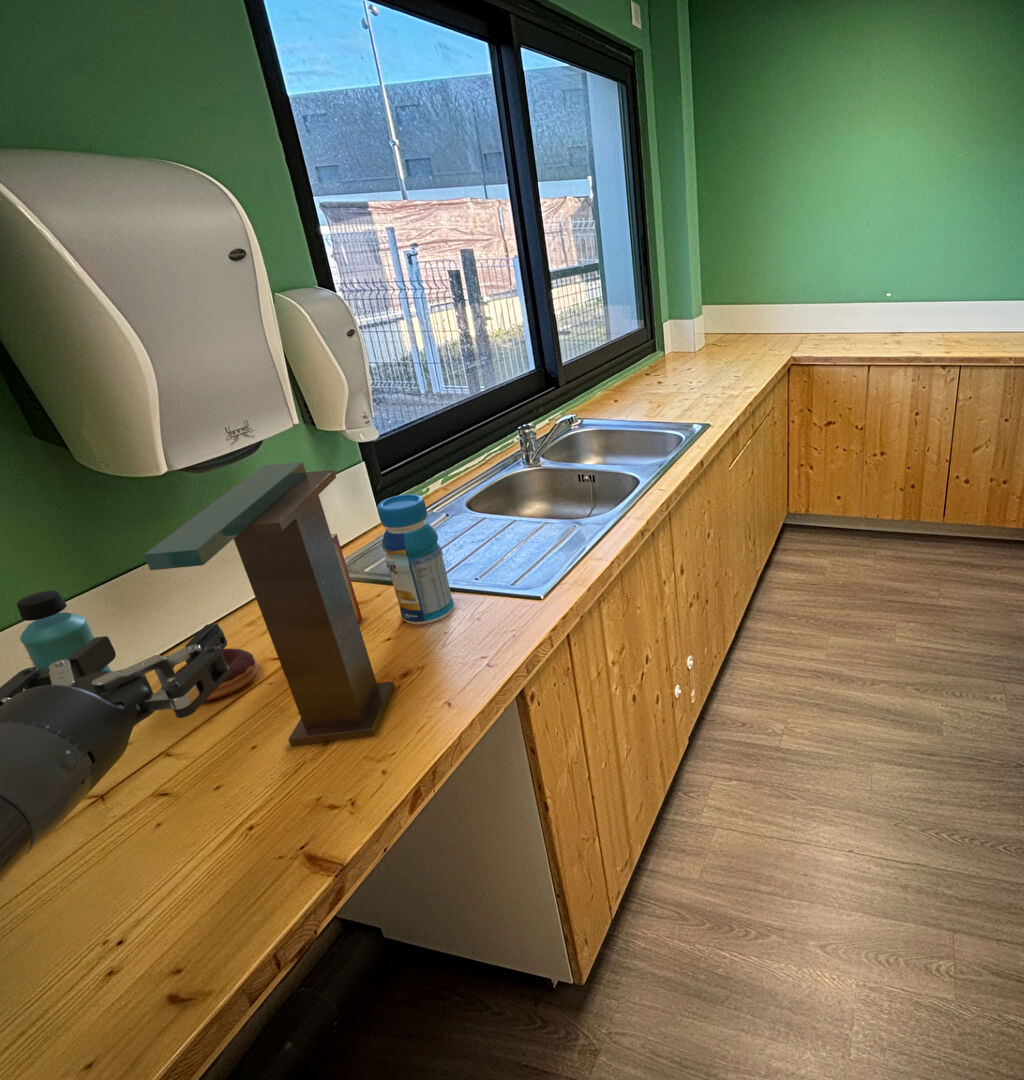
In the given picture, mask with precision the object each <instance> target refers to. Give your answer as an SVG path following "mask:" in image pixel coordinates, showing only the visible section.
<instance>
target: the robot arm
mask: <svg viewBox="0 0 1024 1080" xmlns="http://www.w3.org/2000/svg"><path fill="white" fill-rule="evenodd" d="M227 646H228V641H227V638H226V636H225V633H224V630H223V629H222V628H221V627H220V625H219V624H218V623H209V624H205V625H204V626H203V627H202V628H201V629H200V630H199V631H198V632H197V633H196V635H194V636H193V637H192V638H191V639H190V640H189V641H188V642H187V643H186V644H185V646H184V647H183V648H181V649H179V650H176V651H174V652H173V653H170V654H168V655H166V656H162V655H160V654H155V655H152V656H150V657H147V658H145V659H143V660H141V661H139V662H137V663H134V664H133V665H130V666H127V667H125V668H123V669H119V670H111V671H112V672H100V671H101V670H102V669H104V668H105V667H106V666H107V665H108V666H109V664H111V663H112V662H113V661H114V660H115V659H116V655H117V653H116V651H115V650H116V649H115V648H114V646H113V644H112V641H111V640H110V638H109V636H106V635H103V636H96V637H95V636H94V639H92V640H91V641H90V642H89V643H87V644H86V645H85V646H83V647H81V648H80V649H79V650H78V651H76V652H75V653H74V654H73V655H72V656H70V657H69V658H68V659H64V660H59V661H56V662H54V663H52V664H51V665H50V666H49V669H47V670H43V671H39V670H38V668H37V667H35V666H34V667H33V666H32V667H31V666H30V667H27V668H24V669H22V670H20V671H19V672H17V673H16V674H15V675H13V676H12V677H11V678H9V680H7V681H5V683H4V684H3V685H1V686H0V884H1V883H2V882H3V881H4V880H5V878H6V877H7V876H8V875H9V874H10V873H11V872H12V871H13V870H14V869H15V868H16V866H17V865H18V864H19V863H20V862H21V861H22V860H23V859H24V858H25V857H26V856H27V855H28V853H30V852H31V851H32V850H33V849H34V848H35V847H36V846H37V845H39V844H40V843H42V841H44V840H45V839H46V838H47V837H48V836H50V834H52V833H53V832H54V831H55V830H56V829H57V828H58V827H59V826H60V825H61V824H62V823H63V822H64V820H65V819H67V817H68V816H69V815H70V814H71V813H72V812H73V811H74V810H75V808H76V807H78V806H79V804H80V803H81V802H82V801H83V800H84V799H85V798H86V797H87V795H88V794H89V793H90V792H91V791H93V789H94V788H95V787H96V786H97V784H99V782H100V781H101V780H102V779H103V778H104V777H105V776H106V775H107V773H109V771H110V770H111V769H112V768H113V767H114V766H115V765H116V763H117V762H119V760H120V759H121V758H122V757H123V756H124V753H125V752H126V750H127V747H128V745H129V741H130V739H131V735H132V732H133V730H134V728H135V727H136V726H137V725H138V724H139V723H140V722H142V721H144V720H146V719H147V718H149V717H150V716H151V715H153V714H154V713H155V712H156V711H166V710H167V711H169V710H173V712H174V715H175V716H176V718H177V719H183V718H187V717H189V716H191V715H193V714H194V713H195V712H196V711H197V710H198V709H199V708H200V707H201V706H202V705H203V704H204V703H205V702H206V701H205V700H206V699H207V698H208V697H209V696H210V695H211V694H212V693H213V692H214V691H215V690H216V688H217V687H218V686H219V685H220V684H221V683H222V682H223V681H224V680H225V679H226V678H227V677H228V676H229V675H230V673H231V672H230V670H229V667H228V666H227V664H226V661H225V659H224V656H223V654H222V650H223V649H226V647H227ZM183 662H185V664H187V665H188V666H187V667H186V668H185V669H183V670H182V671H181V672H180V673H179V674H178V675H177V676H176V675H175V674H176V672H175V670H174V668H175V667H176V666H177V665H179V664H181V663H183ZM152 671H154V672H155V674H156V676H157V679H158V682H159V683H160V688H159V690H157V691H156V692H154V691H153V689H152V687H151V684H150V682H149V680H148V678H147V676H146V674H148V673H151V672H152Z"/></svg>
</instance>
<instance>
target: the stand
mask: <svg viewBox="0 0 1024 1080" xmlns="http://www.w3.org/2000/svg"><path fill="white" fill-rule="evenodd" d="M247 477H248V476H246V477H245V478H244V479H242V480H241V481H239V482H238V483H237V484H235V485H234V486H233V487H231V488H230V489H228V490H227V491H226V492H225V493H223V494H221V495H220V496H219V497H217V498H216V499H215V500H214V501H212V502H211V503H210V504H208V505H207V506H206V507H204V508H203V509H201V510H200V511H199V512H197V513H196V514H194V515H193V516H192V517H191V518H189V519H188V520H186V521H185V522H184V523H183V524H181V525H180V526H178V527H177V528H176V529H175V530H173V531H172V533H173V532H175V531H176V530H177V529H179V528H180V527H181V526H183V525H184V524H185V523H187V522H188V521H189V520H191V519H192V518H193V517H195V516H196V515H197V514H199V513H200V512H202V511H203V510H204V509H206V508H207V507H208V506H210V505H211V504H212V503H214V502H215V501H216V500H218V499H219V498H220V497H222V496H223V495H224V494H226V493H227V492H228V491H230V490H231V489H232V488H234V487H235V486H236V485H238V484H239V483H241V482H242V481H243V480H245V479H246V478H247ZM336 478H337V475H336V471H335V470H334V469H329V470H317V471H306V475H305V476H304V477H303V478H302V479H301V480H300V481H299V482H297V483H296V484H295V485H294V486H293V487H292V488H291V489H289V490H288V491H287V492H286V493H285V494H284V495H283V496H281V497H280V498H279V499H278V500H277V501H276V502H275V503H274V504H272V505H271V506H270V507H269V508H268V509H267V510H266V511H264V512H263V513H262V514H261V515H260V516H259V517H258V518H256V519H255V520H254V521H253V522H252V523H251V524H250V525H249V526H247V527H246V528H245V529H244V530H243V531H242V532H241V533H239V534H238V535H237V536H236V537H235V538H234V539H233V542H234V544H235V547H236V549H237V552H238V554H239V557H240V559H241V562H242V565H243V568H244V571H245V573H246V576H247V579H248V581H249V584H250V586H251V589H252V593H253V594H254V597H255V600H256V603H257V605H258V607H259V611H260V613H261V616H262V618H263V621H264V624H265V626H266V629H267V631H268V634H269V637H270V639H271V642H272V646H273V648H274V650H275V653H276V655H277V658H278V661H279V663H280V666H281V670H282V671H283V674H284V676H285V679H286V681H287V685H288V687H289V690H290V692H291V695H292V698H293V700H294V703H295V706H296V709H297V711H298V714H299V717H300V719H299V720H298V722H297V724H296V726H295V727H294V729H293V730H292V732H291V734H290V735H289V737H288V739H287V740H288V742H289V745H290V747H298V746H304V745H312V744H320V743H329V742H336V741H345V740H353V739H361V738H367V737H375V734H376V733H377V730H378V728H379V726H380V723H381V721H382V719H383V716H384V714H385V713H386V710H387V707H388V705H389V704H390V701H391V698H392V696H393V694H394V691H395V690H396V686H395V684H394V681H385V682H378V683H377V679H376V676H375V673H374V670H373V666H372V663H371V660H370V657H369V653H368V650H367V647H366V644H365V640H364V638H363V634H362V630H361V628H360V624H358V621H357V617H356V614H355V611H354V608H353V604H352V601H351V598H350V595H349V592H348V588H347V585H346V582H345V579H344V575H343V572H342V569H341V566H340V562H339V559H338V556H337V553H336V550H335V546H334V543H333V540H332V537H331V534H332V533H331V531H330V527H329V524H328V521H327V520H328V519H327V517H326V514H325V511H324V508H323V505H322V501H321V497H320V494H321V493H322V492H324V490H326V488H327V487H328V486H330V485H331V484H332V483H333V482H334V480H336Z"/></svg>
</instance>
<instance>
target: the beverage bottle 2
mask: <svg viewBox="0 0 1024 1080" xmlns="http://www.w3.org/2000/svg"><path fill="white" fill-rule="evenodd" d="M377 513H378V517H379V521H380V524H381V525H382V526H383V528H385V531H384V533H383V537H382V543H381V546H382V550H383V551H384V552H385V554H386V555H385V560H384V561H385V565H386V567H387V570H388V572H389V575H390V578H391V582H392V585H393V586H392V587H393V589H394V592H395V595H396V599H397V603H398V606H399V607H398V608H399V612H400V616H401V618H402V620H403V621H404V622H406V623H408V624H411V625H427V624H431V623H434V622H438V621H441V620H442V619H444V618H446V617H448V615H449V614H451V613H452V611H453V610H454V607H455V603H454V600H453V596H452V592H451V588H450V584H449V583H450V582H449V579H448V575H447V570H446V566H445V562H444V554H443V548H442V547H441V545H440V544H439V543H438V540H439V535H438V532H437V531H436V530H435V528H434V527H433V526H432V525H431V523H429V522H428V521H426V520H427V519H428V510H427V506H426V502H425V500H424V497H423V496H421V495H419V494H413V493H408V494H399V495H393V496H391V497H388V498H385V499H383V500H381V502H379V503H378V504H377Z"/></svg>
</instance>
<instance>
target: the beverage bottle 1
mask: <svg viewBox="0 0 1024 1080" xmlns="http://www.w3.org/2000/svg"><path fill="white" fill-rule="evenodd" d="M16 607H17V610H18V612H19V616H20V617H21V619H22V620H23V621H24V622H25V621H26V622H29V621H32V622H30V623H29V624H28V625H27V626H26V627H25V629H24V630H23V631H22V633H21V635H20V637H19V640H20V642H21V644H22V645H23V646H24V648H25V649H26V652H27V653H28V657H29V660H30V661H31V662H32V664H33V665H32V667H37V668H38V670H39V671H43V670H47V669H49V666H50V665H51V664H52V663H54V662H56V661H59V660H64V659H68V658H69V657H70V656H72V655H73V654H74V653H75V652H76V651H78V650H79V649H80V648H81V647H83V646H85V645H86V644H87V643H89V642H90V641H91V640H92V639H94V638H95V636H94V634H93V632H92V629H91V628H90V626H89V624H88V620H87V618H86V616H83V615H80V614H77V613H73V612H66V611H65V612H64V610H65V609H66V608H67V602H66V601H65V600H64V599H63V597H62V596H61V594H60V593H59V592H58V591H57V590H45V591H41V592H39V591H38V592H35V593H33V594H32V593H31V594H30V595H27V596H25V597H23V598H21V599H20V600H18V601H17V603H16ZM112 671H113V670H111V668H110V666H109V664H108V665H107V666H106V667H105V668H104V669H102V670H101V671H100V672H112Z"/></svg>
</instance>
